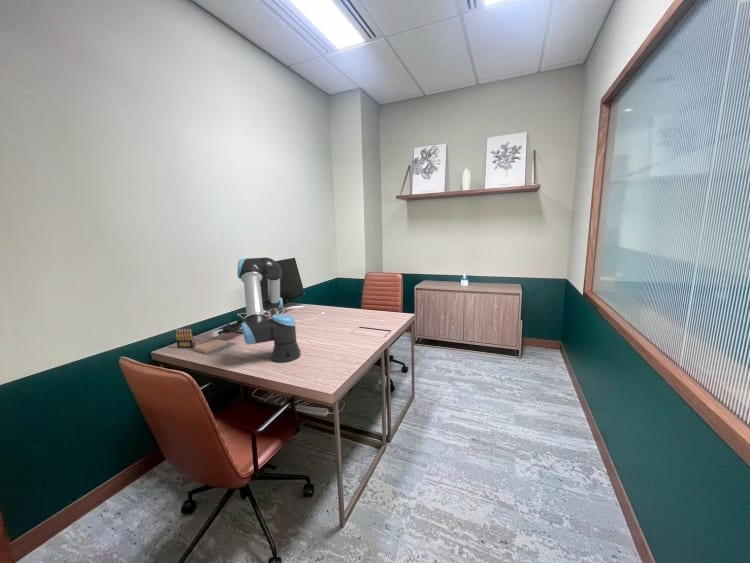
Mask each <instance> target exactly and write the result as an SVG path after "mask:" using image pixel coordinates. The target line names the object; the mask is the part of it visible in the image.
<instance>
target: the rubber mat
mask: <svg viewBox="0 0 750 563" xmlns="http://www.w3.org/2000/svg"><path fill="white" fill-rule="evenodd" d="M237 345H238V343H234V342H230V341H227V345H225V346H222V347H220V348H217V349H215V350H212V351H210V352H207V353H204V352H199V351H195V349H194V348H188V351H191V352H196V353H198V354H204V355H208V356H212V355H215V354H218V353H220V352H223V351H224V350H226V349H230V348H231V347H234V346H237Z"/></svg>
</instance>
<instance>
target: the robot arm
mask: <svg viewBox="0 0 750 563" xmlns="http://www.w3.org/2000/svg"><path fill="white" fill-rule="evenodd" d="M237 262H238V263H237V278H238V279H240V282H242V283H243V286H244V288H243V289H244V300H245V309H246V310H245V313H246V316H245V317H242V318H239V319H237V321H236V322H233V323H232V324H231V323H227V324H225V325H224V326H222V327H219V329H218V330H213V331H212V332H211V337H212V338H214V337H218V336H220V335H223V334H232V333H234V332H235V333H236V332H238V331H242V335H243V338H244V342H245V344H246V345H252V344H253V345H256V344H261V343H268V342H273V344H274V345H273V349H272V353H271V358H272V361H273V362H276V363H287V362H292V361H294V360H295V361H296V360H298V358H300V357H301V356H302V354H301V353H302V352H301V349H300V347H299V344H298V342H297V333H296V332H297V330H296V329H297V328H296V321H295V317H294V316H293V315H290V314H288V313H287V314H286V313H285V314H284V313H282V314H281V313H278V314H273V315H272V316H271V318H268V316H267V315H266V314H265V313H264V311H265V310H275V309H281V308H283V307H284V302H283V298H282V297H281V278H282V275H283V272H282V271H283V270H282V268H281V266H280V264H279V263H278V262H277V261H275V259H273V258H271V257H253V258H250V257H249V258H248V257H247V258H241V259H239V260H238V261H237ZM263 278H266V279H267V293H268V297H267V298H263V297H262V287H261V281H262V280H263Z"/></svg>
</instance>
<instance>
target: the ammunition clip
mask: <svg viewBox="0 0 750 563" xmlns="http://www.w3.org/2000/svg"><path fill="white" fill-rule="evenodd" d="M175 334H176V336H175V337H176V346H177V349H192V348H194V347H196V342H195V339H194V335H193V332H192V329H191V328H189V329H188V328H184V329H183V328H176V329H175Z"/></svg>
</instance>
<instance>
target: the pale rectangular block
mask: <svg viewBox="0 0 750 563" xmlns="http://www.w3.org/2000/svg"><path fill="white" fill-rule="evenodd" d="M227 342H228V341H227V340H223V339H218V338H217V339H216V338H215V339H212V340H210V341H207V342H205V343H201V344H199V345H195V347H194V349H195V351H199V352H204V353H207V352H210V351H212V350H215V349H217V348H220V347H222V346H225V345H227ZM199 352H198V353H199Z"/></svg>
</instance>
